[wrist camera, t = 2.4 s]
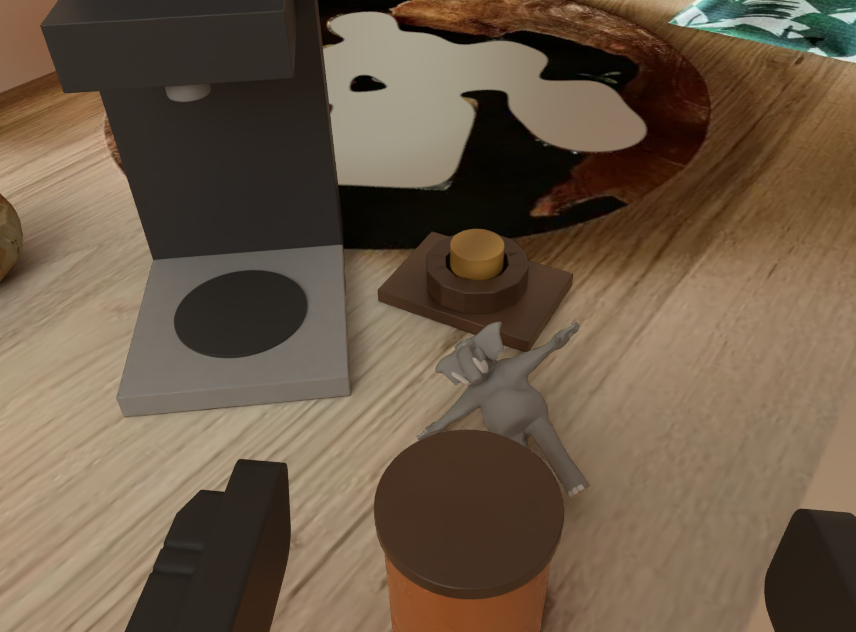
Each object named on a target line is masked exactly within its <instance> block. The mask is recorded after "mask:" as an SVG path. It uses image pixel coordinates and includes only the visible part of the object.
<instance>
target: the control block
mask: <svg viewBox="0 0 856 632" xmlns="http://www.w3.org/2000/svg"><path fill="white" fill-rule="evenodd" d="M456 235H457V234H456ZM454 236H455V235H453V236H450V237H448V236H445V235H441V234H438V233H435V232H431V233H430V234H429V236H428V237H427V238H426V239H425V240H424V241H423V242H422V243H421V244H420V245H419V246H418V247H417V248H416V249H415V251H414V252H413V253H412V254H411V255H410V256H409V257H408V258H407V259H406V260H405V261H404V262H403V263H402V265H401V266H400V267H399V268H398V269H397V270H396V271H395V272H394V273H393V274H392V275H391V276H390V277H389V279H388V280H387V281H386V282H385V283H384V284H383V285H382V286H381V287H380V288H379V289H378V300H379V301H380V302H383V303H386V304H389V305H392V306H394V307H397V308H400V309H403V310H406V311H409V312H412V313H415V314H418V315H421V316H423V317H426V318H429V319H432V320H435V321H438V322H441V323H444V324H447V325H449V326H452V327H455V328H458V329H461V330H464V331H467V332H470V333H473V334H475V335H477V334H478V333H479V332H480V331H481V330H482V329H484V328H485V327H486V326H487V325H489V324H491V323H494V322H501V327H500V336H501V339H502V343H503V344H504V345H507V346H510V347H513V348H516V349H519V350H522V351H525V352H527V351H529V350H530V349H531V347H532V346H533V344H534V342H535V341H536V339H537V338H538V336H539V335H540V333H541V332H542V330H543V328H544V327H545V325H546V324H547V322H548V321H549V319H550V318H551V316H552V314H553V313H554V311H555V310H556V308H557V307H558V305H559V303H560V302H561V300H562V299H563V297H564V296H565V294H566V293H567V291H568V289H569V288H570V286H571V285H572V279H573V274H572V273H569V272H566V271H562V270H559V269H556V268H552V267H549V266H546V265H542V264H539V263H536V262H532V261H529V260H527V256H526V252H525V251H524V250H523V249H522V248H521V247H519V246H518V245H517V244H516V243H515V242H513V241H512V240H511V239H509V238H506V237H502V236H500V237H501V238H502V240H503V242H504V262H503V269H502V271H501V272H500V274H498V275H497V276H496V277H494V278H492V279H489V280H480V281H469V280H466V279H463V278H460V277H458V276H457V275H456V274H455V273H454V272H453V271H452V269H451V267H450V243H451V240H452V239H453V237H454Z"/></svg>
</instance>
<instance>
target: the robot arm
mask: <svg viewBox="0 0 856 632" xmlns="http://www.w3.org/2000/svg"><path fill="white" fill-rule="evenodd" d="M290 537H291V523H290V504H289V484H288V469H287V464H286V463H280V462H269V461H257V460H245V459H239V460H238V461H237V463H236V464H235V467H234V469H233V472H232V474H231V477H230V480H229V482H228V485H227V487H226V490H225V492H221V491H210V490H200V491H199V492H198V493H197V494H196V495H195V496H194V497H193V498H192V499H191V500H190V501H189V502H188V503H187V504H186V505H185V506H184V507H183V508H182V509H181V510H180V511H179V512H178V513H177V514H176V516H175V518H174V521H173V523H172V525H171V527H170V530H169V532H168V534H167V537H166V539H165V541H164V546H163V549H161V550H160V552H159V555H158V557H157V559H156V562H155V564H154V566H153V572H152V573H150V575H149V577H148V580H147V582H146V584H145V587H144V589H143V591H142V593H141V596H140V598H139V600H138V602H137V605H136V607H135V609H134V612H133V614H132V616H131V618H130V621H129V623H128V625H127V627H126V630H125V632H269V631H270V628H271V624H272V620H273V616H274V612H275V608H276V605H277V601H278V597H279V593H280V589H281V585H282V582H283V578H284V574H285V570H286V566H287V561H288V555H289V548H290ZM764 594H765V602H766V608H767V611H768V614H769V617H770V620H771V623H772V625H773V628H774V631H775V632H856V517H855V516H854V515H853V514H851V513H846V512H834V511H823V510H811V509H798V510H797V511H795V513H794V514H793V516H792V517H791V520H790V522H789V524H788V526H787V528H786V531H785V533H784V535H783V537H782V539H781V541H780V544H779V546H778V548H777V550H776V552H775V555H774V557H773V559H772V561H771V563H770V566H769V568H768V570H767V573H766V577H765V586H764Z"/></svg>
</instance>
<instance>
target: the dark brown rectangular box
mask: <svg viewBox="0 0 856 632" xmlns="http://www.w3.org/2000/svg"><path fill="white" fill-rule="evenodd" d="M40 26H41V29H42V32H43V35H44V38H45V40H46V43H47V46H48V49H49V52H50V55H51V58H52V60H53V63H54V66H55V69H56V72H57V75H58V77H59V80H60V83H61V86H62V89H63V92H64V93H77V92H92V91H100V94H101V98H102V101H103V104H104V107H105V110H106V113H107V116H108V120H109V123H110V126H111V129H112V132H113V135H114V138H115V142H116V145H117V148H118V151H119V154H120V157H121V160H122V163H123V167H124V170H125V173H126V176H127V179H128V182H129V185H130V189H131V192H132V195H133V198H134V201H135V204H136V207H137V211H138V214H139V217H140V220H141V223H142V226H143V229H144V233H145V236H146V239H147V242H148V245H149V248H150V251H151V254H152V258H153V262H152V266H151V270H150V273H149V277H148V281H147V285H146V288H145V292H144V296H143V300H142V304H141V307H140V311H139V315H138V319H137V322H136V326H135V330H134V334H133V337H132V341H131V345H130V349H129V352H128V356H127V360H126V364H125V368H124V371H123V375H122V379H121V383H120V386H119V390H118V394H117V401H118V403H119V406H120V408H121V410H122V413H123V415H124V417H129V416H140V415H150V414H161V413H171V412H182V411H193V410H203V409H214V408H224V407H235V406H245V405H256V404H267V403H277V402H288V401H298V400H309V399H319V398H330V397H341V396H350V395H351V388H350V367H349V346H348V325H347V304H346V283H345V262H344V241H343V225H342V216H341V207H340V198H339V189H338V181H337V171H336V162H335V155H334V144H333V135H332V128H331V118H330V109H329V100H328V91H327V82H326V74H325V65H324V56H323V46H322V37H321V28H320V20H319V11H318V2H317V0H58V2H57V3H56V4H55V6H54V7H53V8H52V10H51V11H50V13H49V14H48V15H47V17H46V18H45V20H44V21H43V22H42V23H41V25H40Z"/></svg>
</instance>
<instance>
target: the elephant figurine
mask: <svg viewBox="0 0 856 632" xmlns="http://www.w3.org/2000/svg"><path fill="white" fill-rule="evenodd" d="M500 327H501V322H494V323H491V324H489V325H487V326H486V327H485V328H484V329H482V330H481V331H480V332H479V333H478V334H477V335H475V336H473V337H471V338H469V339H465V340H463V341H461V342H460V343H458V344H457V345H456V346H455V351H453V352H452V353H451V354H449V355H447V356H446V357H444V358H443V359H441V360H440V361H439V363H438V364H437V366H436V369H435V371H436V372H437V373H443V374H444V375H446V376H447V377H448V378H449V379H450V380H451V381H452V382H453V383H454V384H455V385H457V384H458V383H460V382H463V383H464V384H466V385H469V387H468V388H467V390H466V391H465V392H464V394H463V395H462V396H461V397H460V398H459V400H458V401H457V402H456V403H455V404H454V405H453V406H452V407H451V408H450V410H449V411H448V412H447V413H446V414H445V415H444V416H443V417H442V418H441V419H440V420H438V421H437V422H434V423H432V424H431V425H430V426H428V427H426V429H425V430H424V431H423V433H421V434H420V435H418V436H417V439H419V440H421V439H424V438H427V437H429V436H432V435H435V434H438V433H441V432H442V431H443V430H444V429H446V428H447V426H449V425H450V424H451V423H453V422H455V421H457V420H459V419H461V418H463V417H465V416H467V415H468V414H470V413H471V412H473V411H474V410H476V409H477V408H482V411H483V423H484V425H485V426H486V428H487V430H488V431H489V432H491V433H495V434H499V435H502V436H505V437H508V438H510V439H512V440H514V441H516V442H518V443H520V444H522V445H523V446H525V447H527V448H528V449H529V450H530V448H529V446H528V443H527V438H528V437H529V436H532V437H533V438H534V440H535V441H536V443H537V444H538V446H539V448H540V449H541V451H542V452H543V454H544V455H545V457H546V459H547V460H548V462H549V464H550V465H551V467H552V469H553V470H554V472H555V473H556V475H557V476H558V478H559V480H560V481H561V483H562V484H563V486H564V488H565V490H566V492H567V494H568V495H569V497H570V498H572V497H574V496H576V495H578V494H580V493H582V492H583V491H585V490H586V489H588V488H589V487H590V485H589V484H588V482H587V480H586V479H585V477H584V476H583V474H582V473H581V472H580V470H579V469H578V468H577V466H576V465H575V464H574V462H573V461H572V459H571V458H570V456H569V455H568V453H567V451H566V450H565V448H564V446H563V445H562V443H561V441H560V439H559V437H558V436H557V434H556V432H555V430H554V428H553V426H552V425H551V423H550V422H549V420H548V407H547V404H546V402H545V400H544V399H543V397H542V396H541V394H540V393H539V392H538V391H537V390H536V389H535V388H533V387H532V386H531V385H530V384H529V382H528V380H527V379H528V375H529V373H530V372H532V371H533V370H534V369H535V368H536V367H537V366H538V365H539V364H540V363H541V362H542V361H543V360H544V359H545V358H546V357H547V356H548V355H549V354H550V353H552V352H553V351H555V350H558V349H560V348H562V347H563V346H564V345H565V344H566V343H567V342H568V341H569V340H570V338H571V336H572V335H574V333H576V332H577V331H578V329H579V327H580V326H579V324H578V323H577V322H576V323H575V324H574V323H573V324H572V325H571V326H570V327H568V328H566V329H563V330H561V331H559V332H558V333H557V334H555V335H554V336H553V338H552V339H551V341H550V342H549V343H547V344H545V345H544V346H541V347H539V348H536V349H533V350H530V351H527V352H525V353H523V354H521V355H519V356H517V357H514V358H507V359H502V360H500V361H498V362H497V360H496V358H497V357H498V356H499V354H500V353H501V351H503V350H504V347H503V343H502V339H501V336H500Z"/></svg>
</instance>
